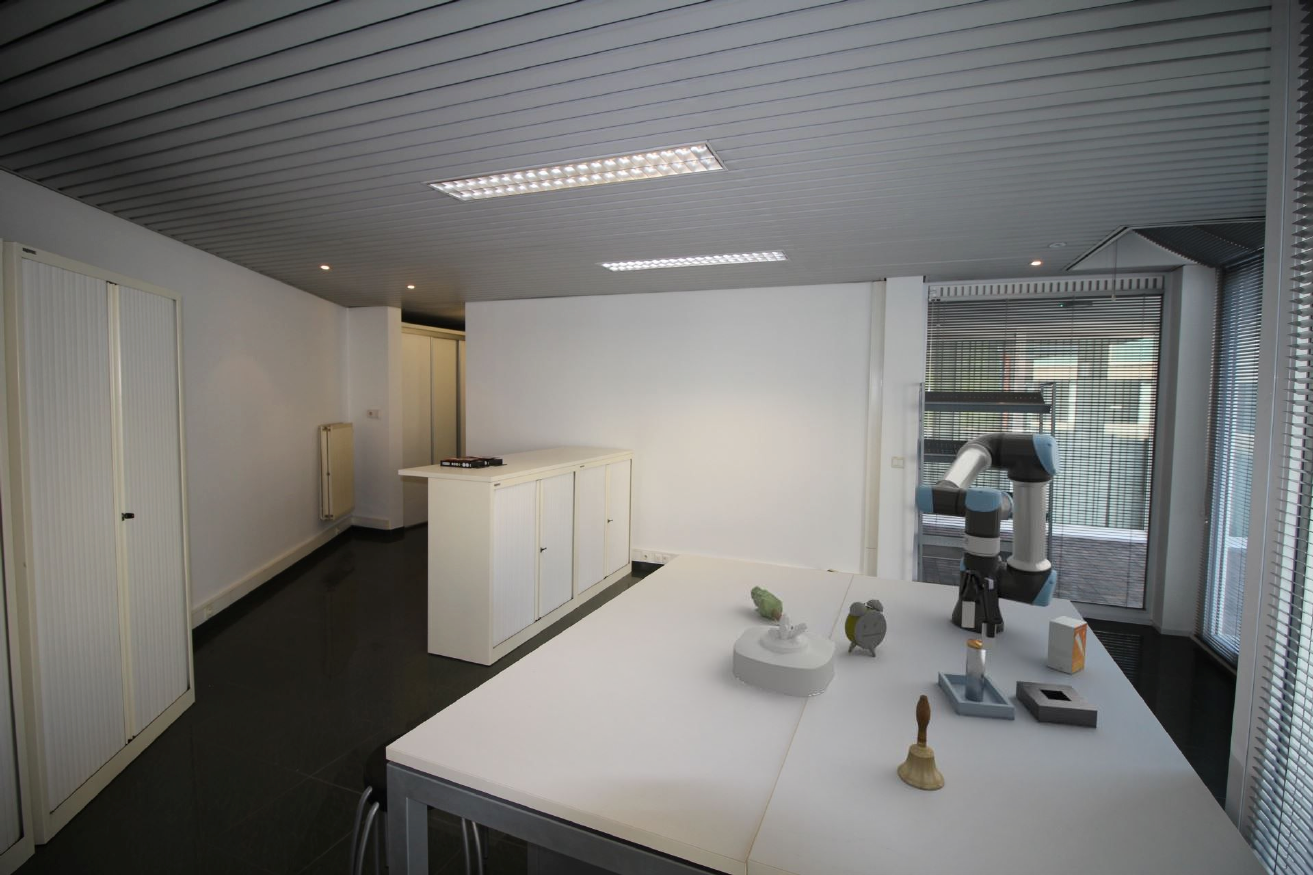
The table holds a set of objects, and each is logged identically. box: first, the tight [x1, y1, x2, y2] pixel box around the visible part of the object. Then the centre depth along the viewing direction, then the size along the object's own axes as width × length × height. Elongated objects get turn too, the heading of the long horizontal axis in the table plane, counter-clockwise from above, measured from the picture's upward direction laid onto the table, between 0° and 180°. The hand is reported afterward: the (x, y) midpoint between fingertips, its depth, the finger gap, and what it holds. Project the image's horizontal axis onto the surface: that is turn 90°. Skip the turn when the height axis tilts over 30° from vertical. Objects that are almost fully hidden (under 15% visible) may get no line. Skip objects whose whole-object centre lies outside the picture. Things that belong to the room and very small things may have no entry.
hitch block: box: [1015, 680, 1098, 729], centre depth 141 cm, size 12×12×4 cm
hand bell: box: [897, 694, 945, 791], centre depth 115 cm, size 8×8×16 cm
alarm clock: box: [844, 599, 888, 657], centre depth 172 cm, size 12×7×15 cm, turn 112°
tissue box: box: [732, 613, 836, 698], centre depth 160 cm, size 25×25×16 cm
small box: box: [1046, 615, 1088, 675], centre depth 165 cm, size 8×6×13 cm
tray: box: [937, 671, 1016, 721], centre depth 146 cm, size 16×12×3 cm
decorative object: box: [750, 585, 794, 629], centre depth 198 cm, size 9×10×25 cm
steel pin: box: [965, 638, 987, 702], centre depth 145 cm, size 4×4×14 cm
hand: (977, 637), depth 145 cm, fingers open, 13 cm apart
